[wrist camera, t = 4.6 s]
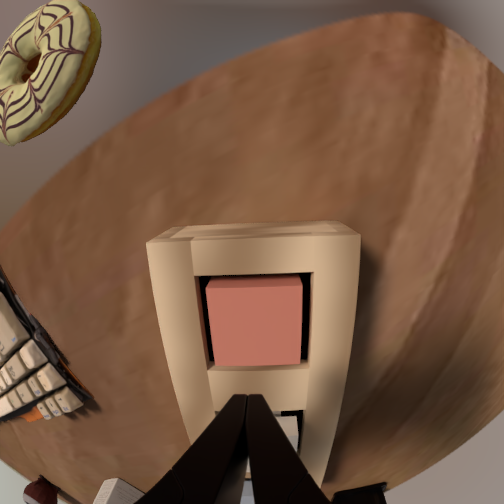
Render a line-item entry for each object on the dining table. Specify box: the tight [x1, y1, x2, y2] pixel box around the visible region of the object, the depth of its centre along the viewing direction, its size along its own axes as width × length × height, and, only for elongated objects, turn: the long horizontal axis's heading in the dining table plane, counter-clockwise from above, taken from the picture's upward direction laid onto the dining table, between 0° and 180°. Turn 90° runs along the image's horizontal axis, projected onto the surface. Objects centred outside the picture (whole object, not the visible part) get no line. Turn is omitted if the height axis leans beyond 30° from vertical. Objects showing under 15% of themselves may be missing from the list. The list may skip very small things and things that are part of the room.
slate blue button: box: [240, 478, 254, 504], centre depth 17 cm, size 4×4×4 cm
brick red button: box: [206, 274, 303, 366], centre depth 14 cm, size 4×4×4 cm
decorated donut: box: [0, 0, 101, 146], centre depth 11 cm, size 10×11×4 cm
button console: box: [146, 221, 361, 488], centre depth 16 cm, size 9×24×4 cm, turn 3°
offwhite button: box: [246, 411, 298, 472], centre depth 15 cm, size 4×4×4 cm
